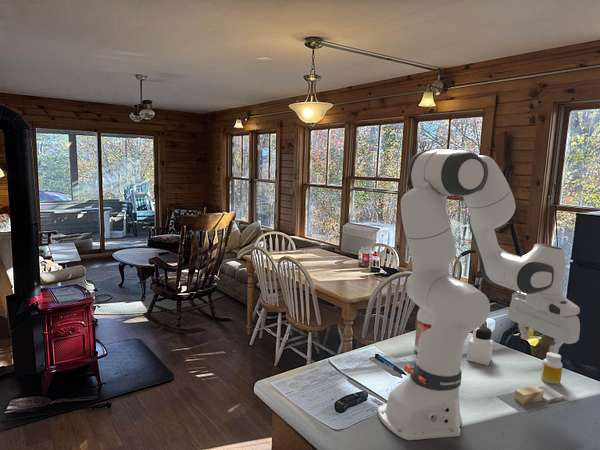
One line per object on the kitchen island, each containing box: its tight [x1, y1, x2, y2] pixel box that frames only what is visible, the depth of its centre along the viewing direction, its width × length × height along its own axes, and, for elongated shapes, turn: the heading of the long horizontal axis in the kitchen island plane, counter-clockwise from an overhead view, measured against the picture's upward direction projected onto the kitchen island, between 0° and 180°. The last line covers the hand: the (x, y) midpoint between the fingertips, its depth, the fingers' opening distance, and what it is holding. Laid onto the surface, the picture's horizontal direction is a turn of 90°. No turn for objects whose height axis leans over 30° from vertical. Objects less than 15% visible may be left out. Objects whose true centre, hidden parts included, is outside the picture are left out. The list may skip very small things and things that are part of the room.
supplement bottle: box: [540, 351, 563, 387], centre depth 133 cm, size 5×5×10 cm
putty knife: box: [514, 385, 565, 405], centre depth 123 cm, size 15×6×3 cm, turn 112°
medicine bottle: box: [466, 325, 494, 366], centre depth 148 cm, size 7×7×12 cm
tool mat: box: [495, 385, 572, 414], centre depth 123 cm, size 20×9×1 cm, turn 112°
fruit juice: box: [414, 307, 434, 353], centre depth 152 cm, size 9×9×28 cm
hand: (538, 345), depth 121 cm, fingers open, 8 cm apart
